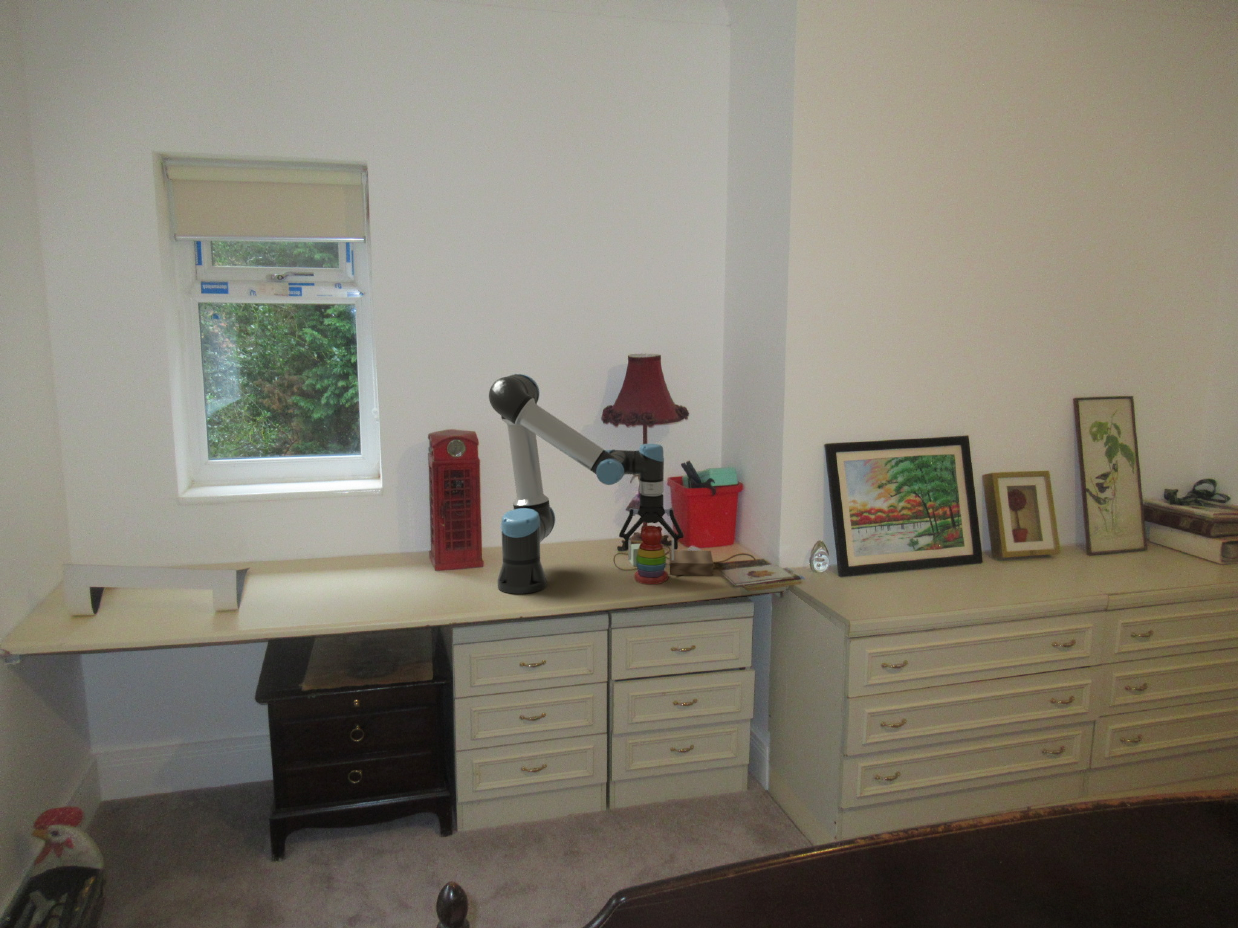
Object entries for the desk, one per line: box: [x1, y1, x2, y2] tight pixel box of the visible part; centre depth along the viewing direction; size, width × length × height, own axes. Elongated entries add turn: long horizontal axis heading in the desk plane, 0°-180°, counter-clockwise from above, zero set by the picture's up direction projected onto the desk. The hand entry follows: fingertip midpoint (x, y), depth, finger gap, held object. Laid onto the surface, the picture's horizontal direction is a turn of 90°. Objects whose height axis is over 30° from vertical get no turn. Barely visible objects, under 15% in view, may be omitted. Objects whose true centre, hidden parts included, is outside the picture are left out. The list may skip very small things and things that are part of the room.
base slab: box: [668, 549, 714, 576], centre depth 267 cm, size 14×14×4 cm
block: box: [628, 543, 641, 567], centre depth 273 cm, size 6×6×6 cm
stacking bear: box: [634, 525, 669, 585], centre depth 255 cm, size 11×10×18 cm
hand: (651, 558), depth 255 cm, fingers open, 13 cm apart
